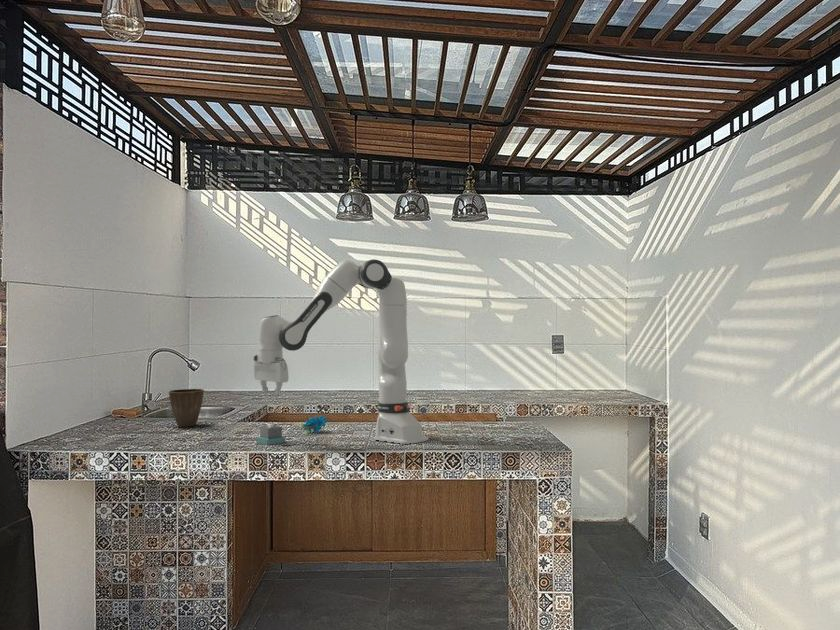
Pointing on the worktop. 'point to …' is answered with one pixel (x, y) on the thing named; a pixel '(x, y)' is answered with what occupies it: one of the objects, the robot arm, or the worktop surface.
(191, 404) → the plant pot
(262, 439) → the shaft block
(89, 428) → the worktop surface
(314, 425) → the blue toy dinosaur
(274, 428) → the collar
